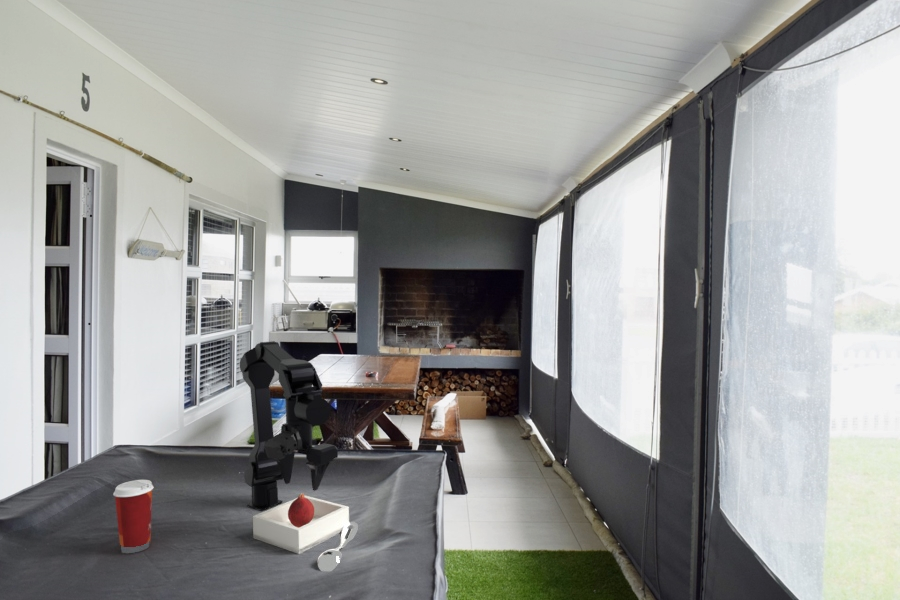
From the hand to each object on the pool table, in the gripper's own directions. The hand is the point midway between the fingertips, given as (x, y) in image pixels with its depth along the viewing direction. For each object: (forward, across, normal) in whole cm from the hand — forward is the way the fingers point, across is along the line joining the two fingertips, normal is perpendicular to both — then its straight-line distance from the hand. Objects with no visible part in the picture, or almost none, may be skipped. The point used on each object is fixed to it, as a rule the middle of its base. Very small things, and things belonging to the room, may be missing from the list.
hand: (301, 486), depth 128 cm
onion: (+10, 0, 0) cm, 10 cm away
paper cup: (+11, -26, -24) cm, 37 cm away
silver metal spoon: (+11, +13, -1) cm, 17 cm away
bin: (+11, 0, 0) cm, 11 cm away
